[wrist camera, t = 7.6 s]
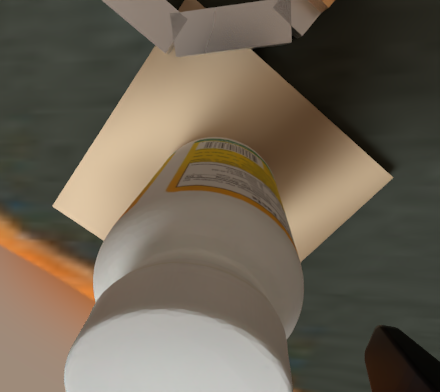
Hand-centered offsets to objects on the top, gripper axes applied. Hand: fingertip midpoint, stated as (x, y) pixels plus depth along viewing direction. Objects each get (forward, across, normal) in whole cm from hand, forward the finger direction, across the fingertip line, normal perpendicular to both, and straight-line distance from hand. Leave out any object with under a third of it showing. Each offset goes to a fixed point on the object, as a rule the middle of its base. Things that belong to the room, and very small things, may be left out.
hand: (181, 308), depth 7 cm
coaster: (+8, 0, 0) cm, 8 cm away
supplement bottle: (+8, 0, 0) cm, 8 cm away
